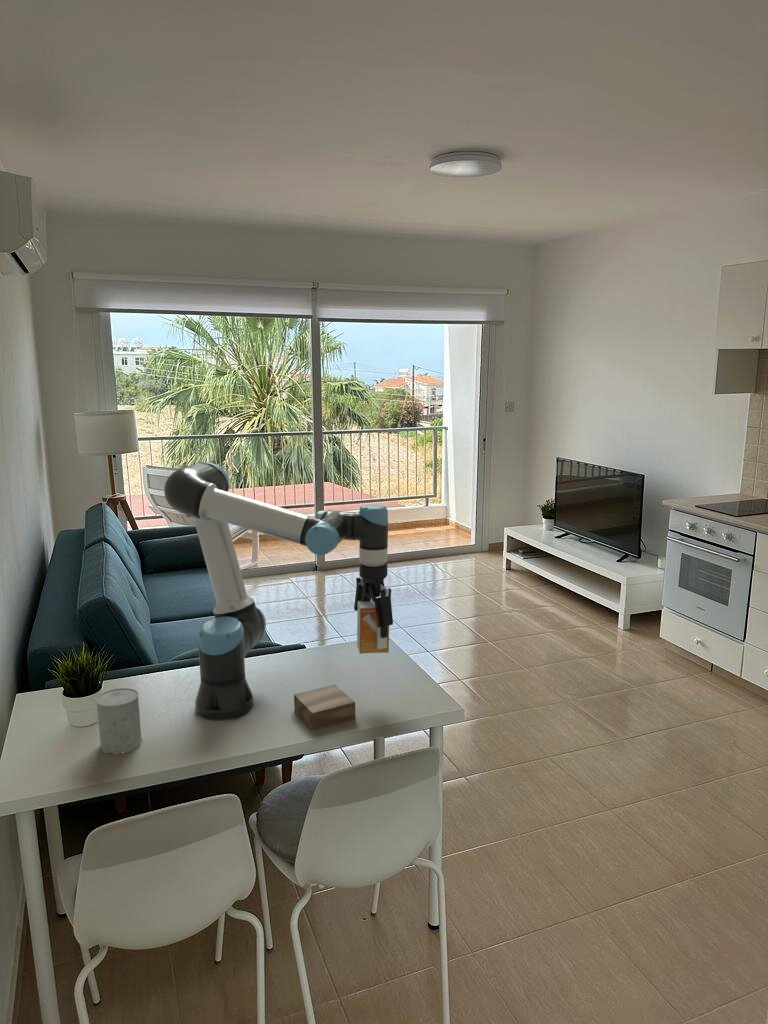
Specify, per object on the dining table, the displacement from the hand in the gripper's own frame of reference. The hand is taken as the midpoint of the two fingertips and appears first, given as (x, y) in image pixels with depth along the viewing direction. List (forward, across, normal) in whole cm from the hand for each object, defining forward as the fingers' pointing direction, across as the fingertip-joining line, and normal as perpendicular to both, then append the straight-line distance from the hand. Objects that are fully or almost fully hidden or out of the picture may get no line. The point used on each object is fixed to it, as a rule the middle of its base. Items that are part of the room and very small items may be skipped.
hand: (372, 642), depth 198 cm
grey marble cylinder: (+17, +12, +64) cm, 68 cm away
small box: (+2, 0, 0) cm, 2 cm away
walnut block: (+16, -2, +16) cm, 23 cm away
